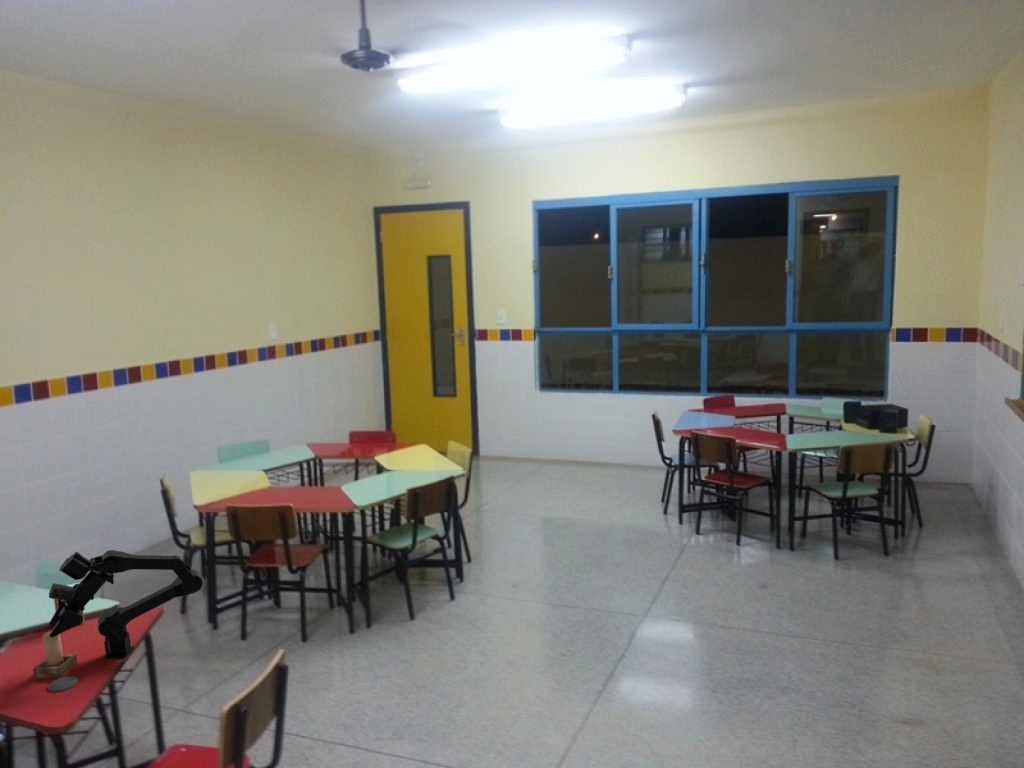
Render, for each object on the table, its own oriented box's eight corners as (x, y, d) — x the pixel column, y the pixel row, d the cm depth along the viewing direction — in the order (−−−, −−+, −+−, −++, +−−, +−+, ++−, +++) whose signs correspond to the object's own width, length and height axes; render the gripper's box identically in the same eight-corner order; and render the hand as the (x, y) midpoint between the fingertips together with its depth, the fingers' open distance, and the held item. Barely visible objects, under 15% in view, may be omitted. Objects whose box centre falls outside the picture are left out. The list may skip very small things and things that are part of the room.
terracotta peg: (67, 666, 232) (62, 630, 230) (58, 674, 227) (53, 637, 226) (54, 667, 232) (49, 630, 230) (44, 674, 228) (39, 637, 226)
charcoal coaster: (83, 677, 225) (83, 676, 225) (68, 691, 217) (67, 690, 217) (59, 677, 225) (59, 676, 225) (42, 691, 218) (42, 690, 218)
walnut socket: (77, 663, 233) (76, 654, 233) (60, 677, 225) (59, 668, 225) (52, 664, 234) (50, 654, 233) (34, 678, 226) (33, 668, 225)
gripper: (64, 564, 236) (26, 606, 232) (66, 584, 221) (25, 629, 216) (95, 582, 242) (58, 624, 237) (99, 603, 226) (60, 648, 222)
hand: (50, 630), depth 228 cm, fingers open, 9 cm apart
